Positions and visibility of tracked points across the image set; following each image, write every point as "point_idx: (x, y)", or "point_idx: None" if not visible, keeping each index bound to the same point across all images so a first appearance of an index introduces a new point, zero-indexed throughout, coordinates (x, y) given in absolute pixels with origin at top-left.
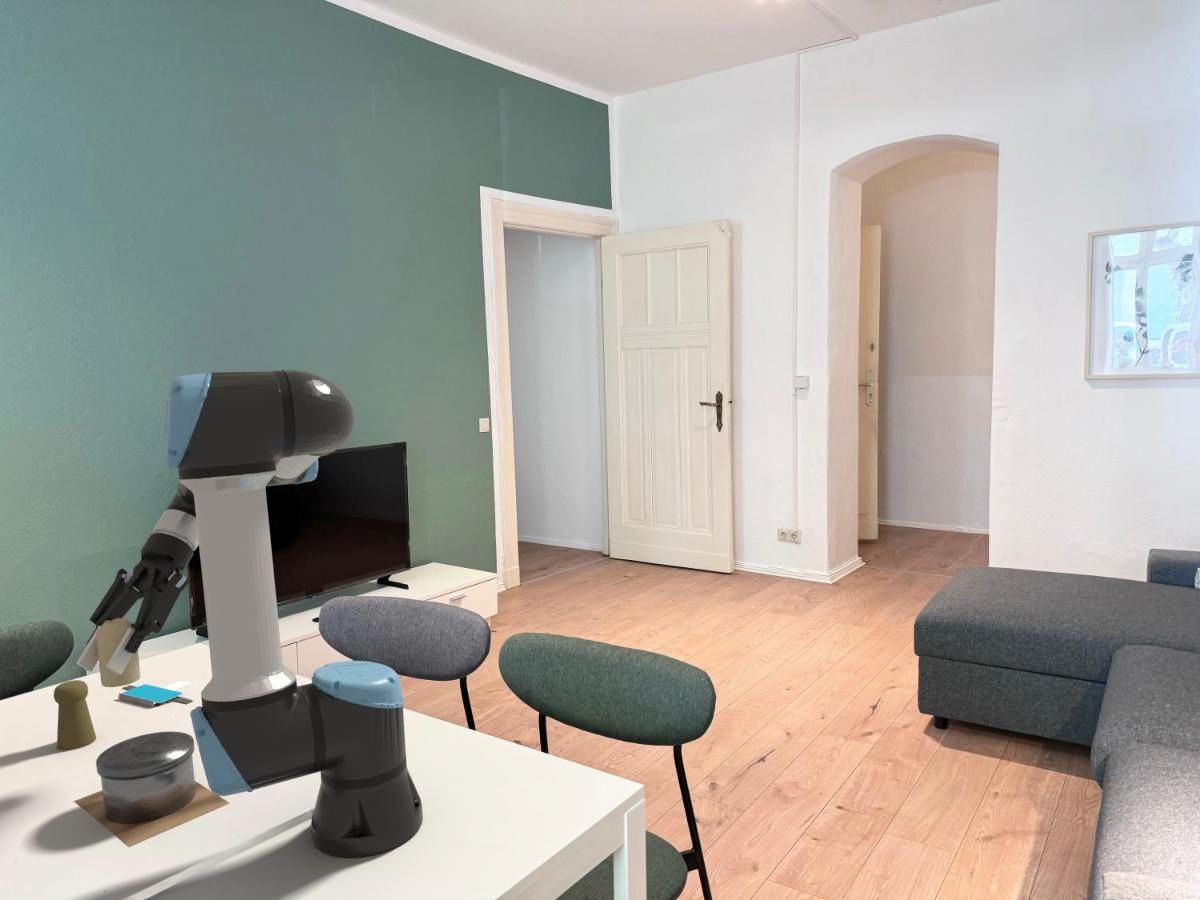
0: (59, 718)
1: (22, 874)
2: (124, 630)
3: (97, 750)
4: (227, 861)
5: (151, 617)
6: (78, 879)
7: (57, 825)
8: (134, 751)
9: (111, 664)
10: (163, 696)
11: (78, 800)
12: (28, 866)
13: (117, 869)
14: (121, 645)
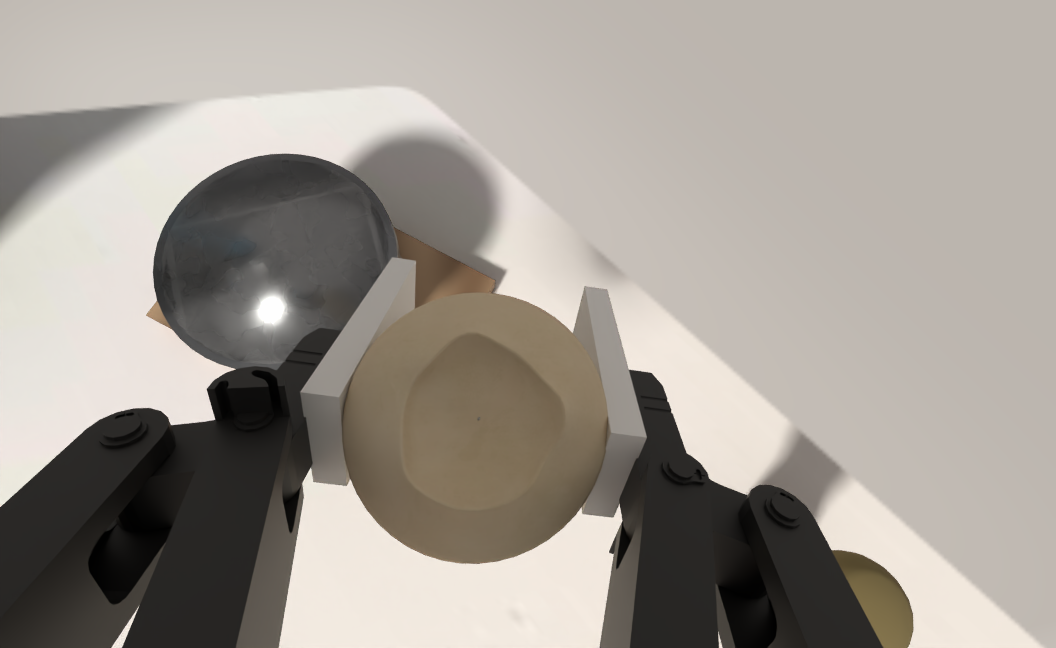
0: None
1: (425, 117)
2: (360, 376)
3: None
4: (84, 179)
5: (75, 477)
6: (322, 114)
7: (486, 239)
8: (307, 248)
9: (387, 265)
10: None
11: (487, 282)
12: (433, 134)
13: (274, 141)
14: (355, 315)
